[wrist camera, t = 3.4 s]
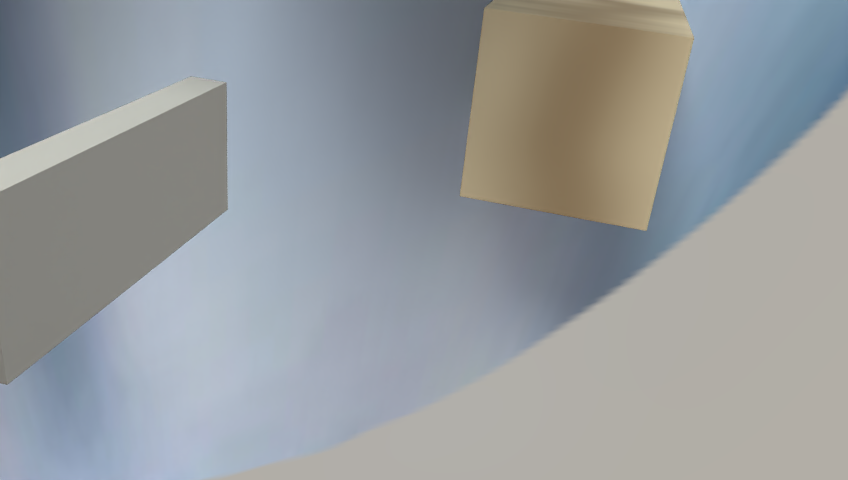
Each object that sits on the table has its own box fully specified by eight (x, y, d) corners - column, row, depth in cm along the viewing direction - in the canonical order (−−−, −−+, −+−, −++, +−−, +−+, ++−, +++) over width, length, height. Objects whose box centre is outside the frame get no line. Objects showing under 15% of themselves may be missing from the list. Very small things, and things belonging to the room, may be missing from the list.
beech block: (503, 118, 28) (459, 196, 21) (524, -26, 26) (484, 8, 19) (643, 141, 28) (646, 230, 21) (677, -5, 25) (694, 37, 18)
